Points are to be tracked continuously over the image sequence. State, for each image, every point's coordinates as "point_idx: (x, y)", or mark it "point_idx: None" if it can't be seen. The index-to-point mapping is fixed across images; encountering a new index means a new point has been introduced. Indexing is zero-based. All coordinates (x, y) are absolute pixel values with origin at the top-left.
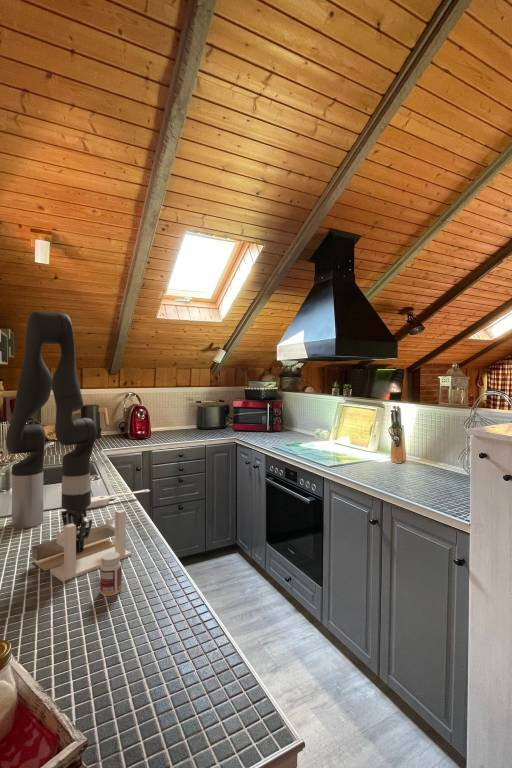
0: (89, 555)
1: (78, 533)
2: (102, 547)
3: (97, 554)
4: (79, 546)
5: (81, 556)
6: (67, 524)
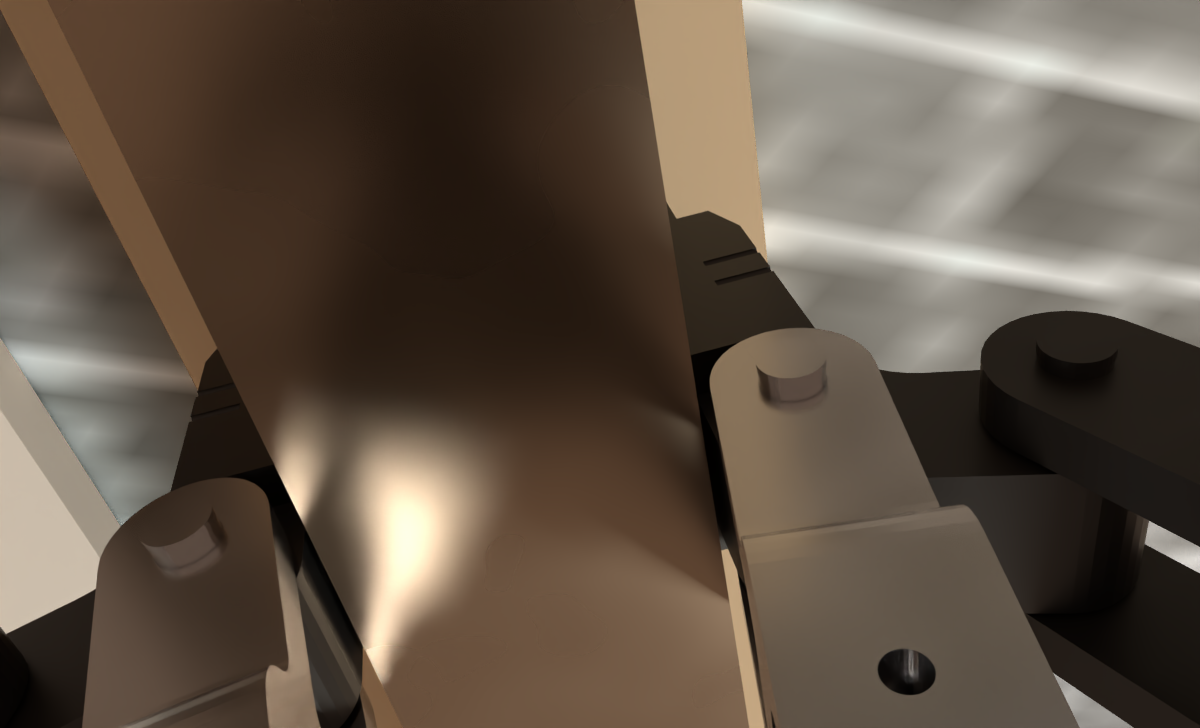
0: (50, 483)
1: (640, 621)
2: (380, 687)
3: (29, 606)
4: (202, 440)
5: (175, 334)
6: (930, 682)
